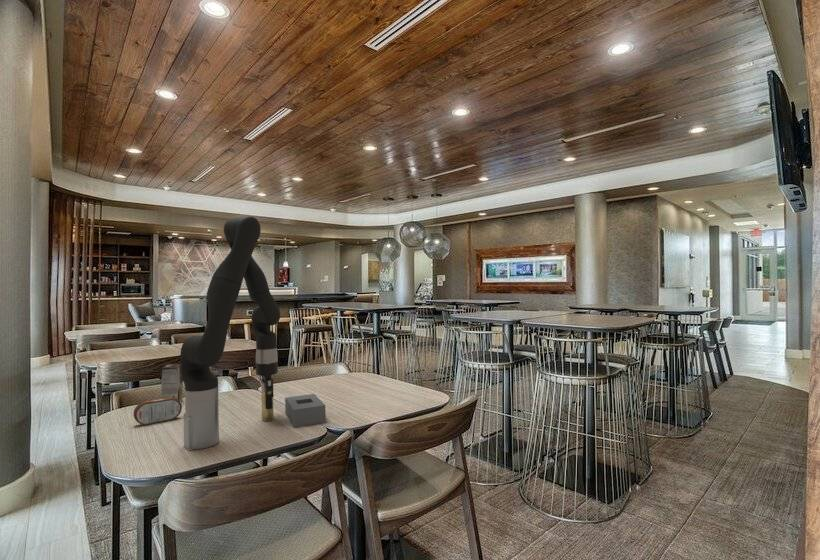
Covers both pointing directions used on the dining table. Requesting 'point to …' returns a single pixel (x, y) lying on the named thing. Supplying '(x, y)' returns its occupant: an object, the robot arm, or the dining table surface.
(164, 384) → the coffee box
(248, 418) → the dining table surface
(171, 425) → the dining table surface
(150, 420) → the tin
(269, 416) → the pin
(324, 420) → the socket block
